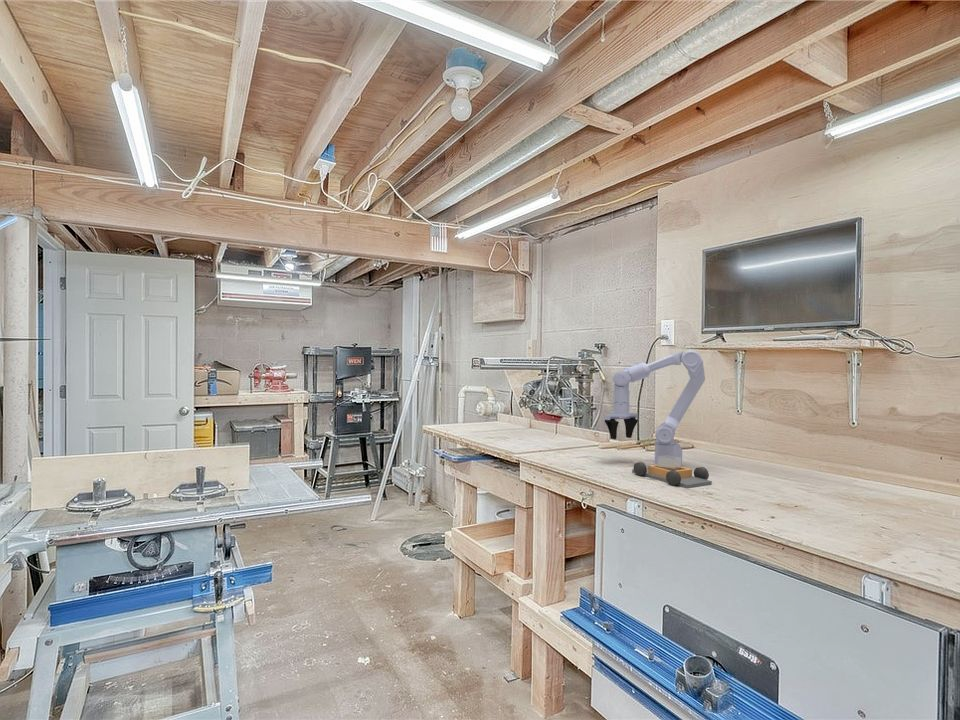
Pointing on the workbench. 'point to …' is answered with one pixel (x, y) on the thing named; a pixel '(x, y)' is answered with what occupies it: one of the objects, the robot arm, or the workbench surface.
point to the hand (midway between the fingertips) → (621, 438)
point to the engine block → (669, 462)
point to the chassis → (674, 475)
